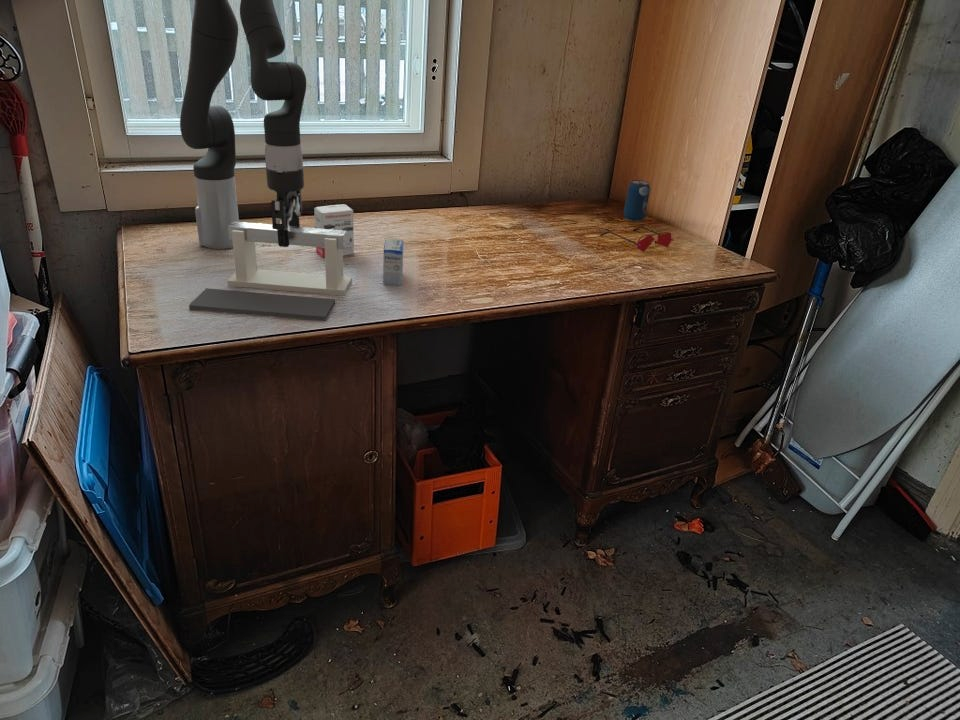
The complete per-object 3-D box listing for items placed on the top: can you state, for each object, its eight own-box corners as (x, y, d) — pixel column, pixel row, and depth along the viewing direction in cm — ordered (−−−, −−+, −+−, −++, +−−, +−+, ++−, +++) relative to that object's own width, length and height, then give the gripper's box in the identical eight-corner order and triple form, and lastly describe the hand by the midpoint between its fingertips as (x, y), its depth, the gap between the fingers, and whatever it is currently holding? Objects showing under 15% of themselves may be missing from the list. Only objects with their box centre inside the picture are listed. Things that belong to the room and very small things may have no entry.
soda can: (646, 222, 220) (653, 185, 214) (624, 221, 220) (631, 183, 214) (642, 216, 226) (649, 180, 220) (621, 214, 226) (627, 178, 220)
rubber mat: (189, 309, 141) (188, 305, 140) (206, 292, 149) (206, 288, 148) (325, 321, 141) (325, 316, 140) (335, 303, 149) (335, 299, 148)
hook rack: (228, 285, 153) (222, 231, 147) (240, 272, 160) (235, 220, 154) (344, 295, 153) (343, 241, 147) (351, 282, 160) (351, 230, 154)
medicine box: (384, 272, 166) (384, 238, 162) (402, 273, 167) (403, 239, 163) (382, 285, 160) (383, 249, 155) (402, 286, 160) (402, 250, 156)
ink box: (323, 258, 172) (321, 212, 166) (315, 252, 175) (313, 206, 169) (354, 254, 176) (354, 209, 170) (346, 248, 179) (345, 203, 174)
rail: (229, 239, 150) (227, 226, 148) (235, 234, 153) (233, 221, 152) (343, 249, 150) (343, 235, 148) (346, 243, 153) (346, 230, 152)
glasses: (637, 254, 193) (641, 237, 191) (599, 236, 205) (601, 220, 203) (672, 248, 200) (676, 231, 198) (633, 231, 212) (635, 215, 210)
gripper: (276, 156, 150) (282, 229, 157) (255, 171, 137) (262, 249, 145) (311, 159, 150) (314, 231, 157) (293, 174, 137) (297, 252, 145)
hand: (289, 240), depth 151 cm, fingers open, 8 cm apart
